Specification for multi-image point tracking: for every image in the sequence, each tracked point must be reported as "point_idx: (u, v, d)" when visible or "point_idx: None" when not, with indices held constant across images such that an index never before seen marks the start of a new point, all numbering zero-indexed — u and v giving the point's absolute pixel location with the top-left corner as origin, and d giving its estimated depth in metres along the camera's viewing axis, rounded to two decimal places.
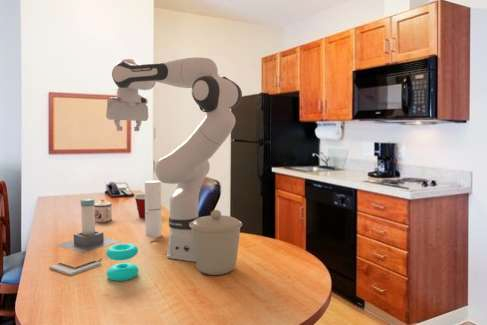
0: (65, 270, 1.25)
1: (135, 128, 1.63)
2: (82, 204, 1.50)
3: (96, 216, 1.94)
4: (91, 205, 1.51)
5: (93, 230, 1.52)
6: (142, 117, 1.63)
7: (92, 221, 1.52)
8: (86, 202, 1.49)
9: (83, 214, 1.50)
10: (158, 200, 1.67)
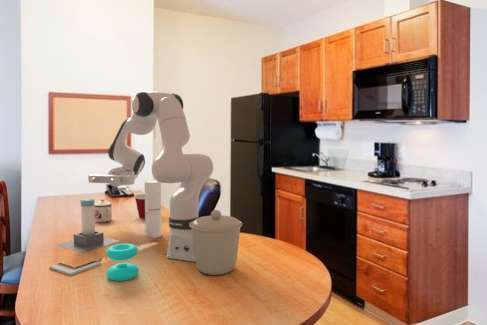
0: (65, 270, 1.25)
1: None
2: (82, 204, 1.50)
3: (96, 216, 1.94)
4: (91, 205, 1.51)
5: (93, 230, 1.52)
6: (123, 175, 1.68)
7: (92, 220, 1.52)
8: (86, 202, 1.50)
9: (83, 214, 1.50)
10: (158, 200, 1.67)
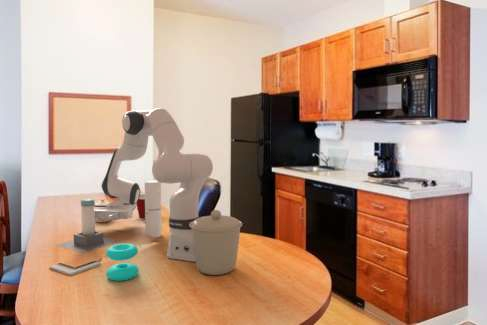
0: (65, 270, 1.25)
1: None
2: (82, 204, 1.50)
3: None
4: (91, 205, 1.51)
5: (93, 230, 1.52)
6: (120, 210, 1.66)
7: (93, 221, 1.52)
8: (86, 202, 1.49)
9: (83, 214, 1.50)
10: (158, 200, 1.67)
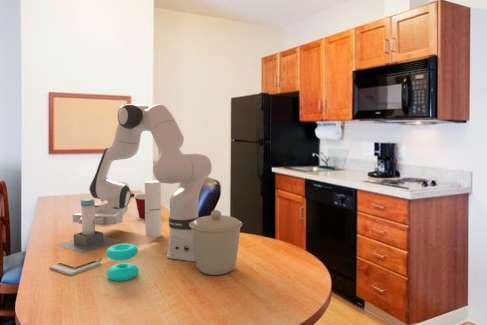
0: (65, 270, 1.25)
1: None
2: (82, 204, 1.50)
3: None
4: (91, 205, 1.51)
5: (93, 230, 1.52)
6: (109, 215, 1.57)
7: None
8: (86, 202, 1.50)
9: (83, 214, 1.50)
10: (158, 200, 1.67)
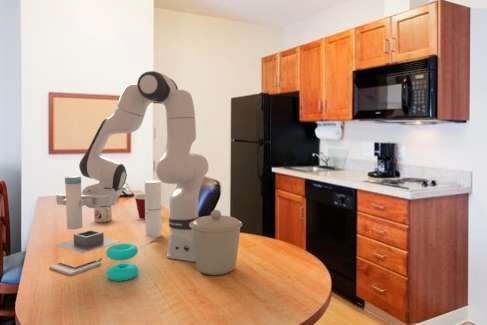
0: (65, 270, 1.25)
1: None
2: (66, 181, 1.27)
3: (96, 216, 1.94)
4: (77, 183, 1.28)
5: (80, 212, 1.29)
6: (99, 195, 1.34)
7: None
8: (71, 179, 1.27)
9: (68, 193, 1.27)
10: (158, 200, 1.67)
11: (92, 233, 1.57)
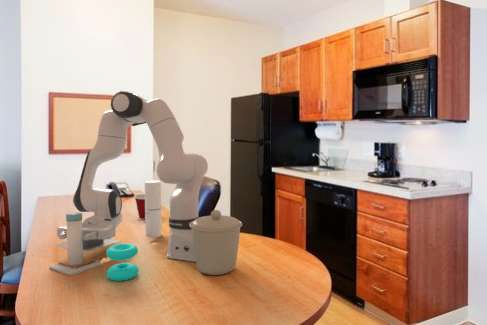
0: (65, 270, 1.25)
1: None
2: (67, 219, 1.27)
3: None
4: (78, 220, 1.28)
5: (80, 249, 1.30)
6: (99, 228, 1.34)
7: (80, 238, 1.29)
8: (72, 216, 1.27)
9: (69, 230, 1.28)
10: (158, 200, 1.67)
11: None
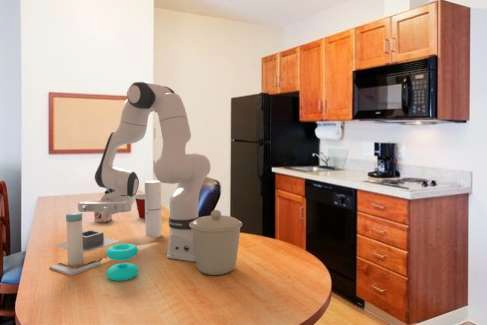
0: (65, 270, 1.25)
1: None
2: (67, 219, 1.27)
3: (96, 216, 1.94)
4: (78, 220, 1.28)
5: (81, 249, 1.30)
6: (117, 202, 1.46)
7: (80, 238, 1.29)
8: (72, 217, 1.27)
9: (69, 231, 1.28)
10: (158, 200, 1.67)
11: (92, 233, 1.57)
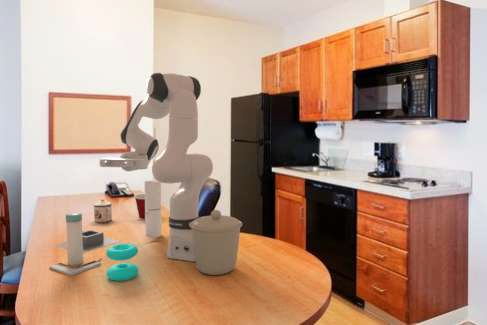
0: (65, 270, 1.25)
1: None
2: (67, 219, 1.27)
3: (96, 216, 1.94)
4: (78, 220, 1.28)
5: (80, 250, 1.30)
6: (136, 159, 1.60)
7: (80, 239, 1.29)
8: (72, 217, 1.27)
9: (68, 231, 1.27)
10: (158, 200, 1.67)
11: (92, 233, 1.57)
